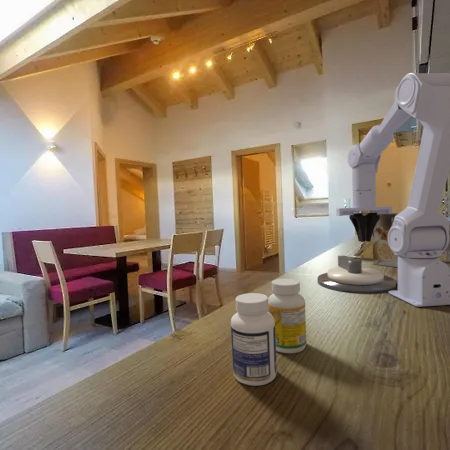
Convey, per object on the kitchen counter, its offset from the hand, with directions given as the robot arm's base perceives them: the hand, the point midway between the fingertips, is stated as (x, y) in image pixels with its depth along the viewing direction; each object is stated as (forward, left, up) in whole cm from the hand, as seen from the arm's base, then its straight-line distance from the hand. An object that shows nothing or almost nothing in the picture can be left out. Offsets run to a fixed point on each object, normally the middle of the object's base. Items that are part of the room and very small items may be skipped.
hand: (364, 241), depth 85 cm
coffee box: (+12, -15, -10) cm, 21 cm away
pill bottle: (-44, +37, -10) cm, 59 cm away
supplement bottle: (-37, +31, -10) cm, 50 cm away
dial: (-6, +6, -8) cm, 12 cm away
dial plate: (-6, +6, -9) cm, 13 cm away
